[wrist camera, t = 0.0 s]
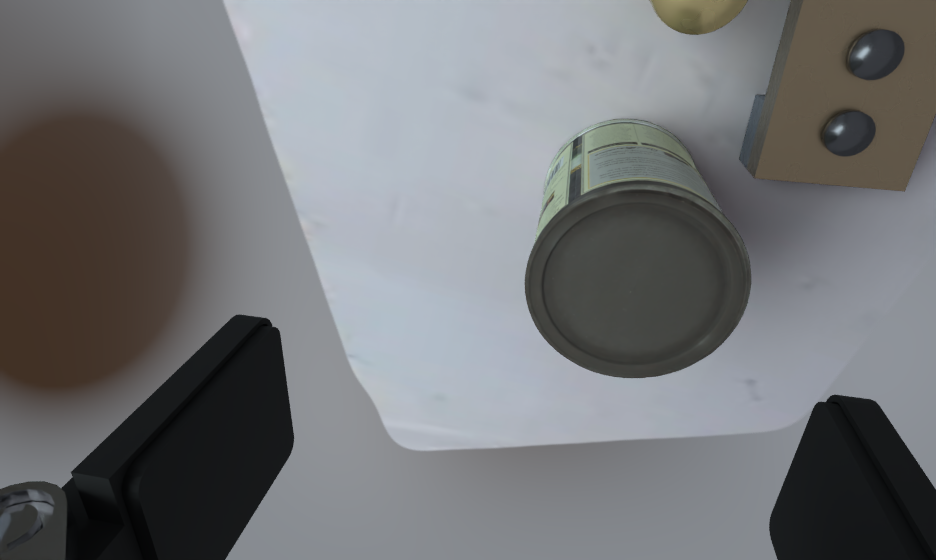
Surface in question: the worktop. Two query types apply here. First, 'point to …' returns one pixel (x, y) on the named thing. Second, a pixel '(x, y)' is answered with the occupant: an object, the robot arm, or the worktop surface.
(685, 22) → the pin
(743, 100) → the worktop surface
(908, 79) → the peg hole board
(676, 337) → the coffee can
